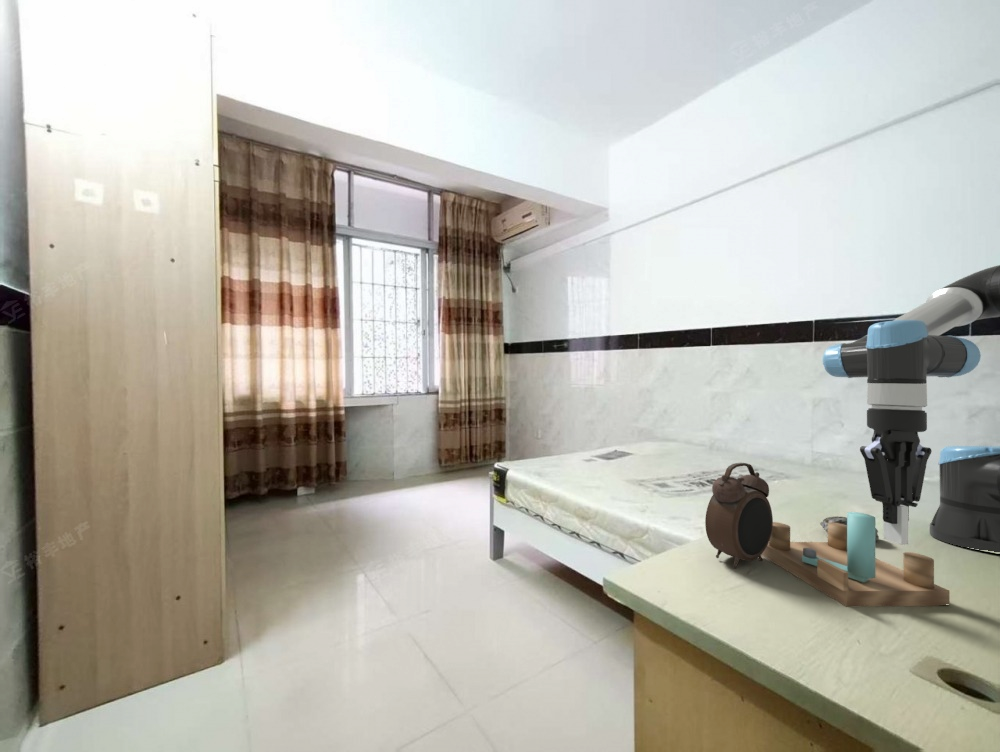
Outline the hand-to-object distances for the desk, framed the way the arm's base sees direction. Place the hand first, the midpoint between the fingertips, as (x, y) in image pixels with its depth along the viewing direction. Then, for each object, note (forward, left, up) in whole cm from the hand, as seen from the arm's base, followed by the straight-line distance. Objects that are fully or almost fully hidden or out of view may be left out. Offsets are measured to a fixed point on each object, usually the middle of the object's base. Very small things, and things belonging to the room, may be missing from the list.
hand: (895, 541), depth 69 cm
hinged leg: (+9, -2, -6) cm, 11 cm away
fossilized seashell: (-16, -25, -10) cm, 31 cm away
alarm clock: (+20, -12, -9) cm, 25 cm away
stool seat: (+4, -6, -9) cm, 12 cm away
